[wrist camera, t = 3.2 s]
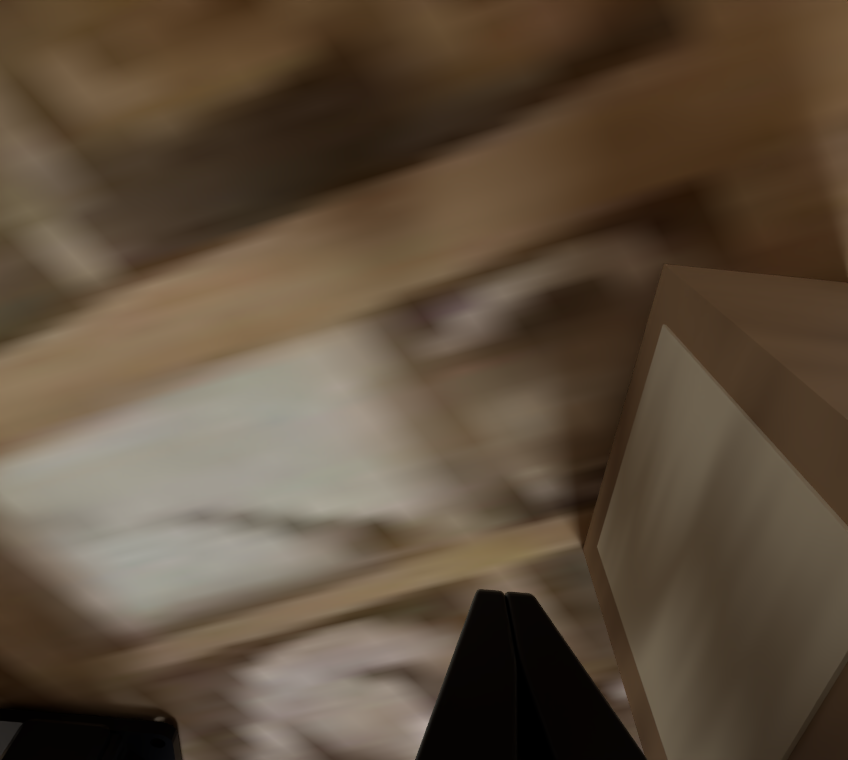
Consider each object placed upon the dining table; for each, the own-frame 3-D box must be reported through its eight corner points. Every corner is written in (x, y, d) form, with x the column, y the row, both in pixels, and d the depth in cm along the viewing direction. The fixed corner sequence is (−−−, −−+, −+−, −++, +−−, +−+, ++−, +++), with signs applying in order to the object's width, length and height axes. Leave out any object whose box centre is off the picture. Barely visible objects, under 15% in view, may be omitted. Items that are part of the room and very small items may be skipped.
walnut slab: (726, 561, 16) (998, 1023, 8) (580, 548, 16) (714, 1002, 8) (847, 281, 13) (1522, 626, 5) (659, 263, 13) (1030, 582, 5)
